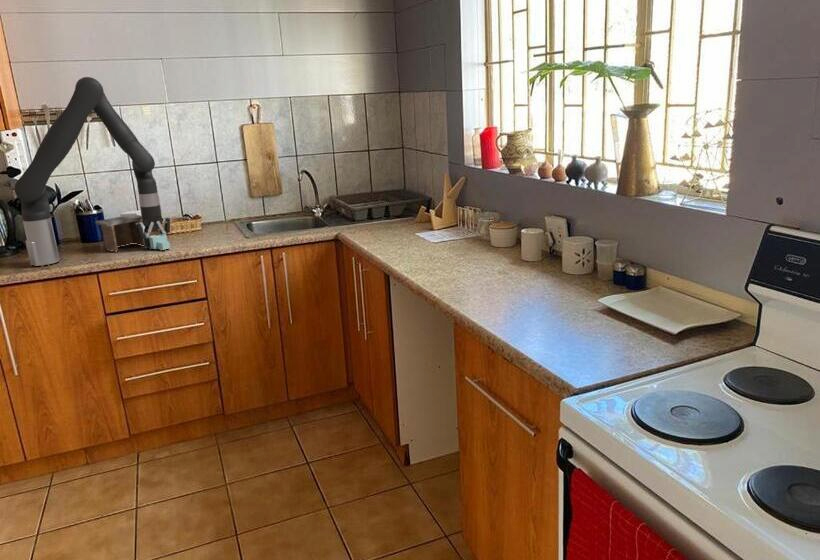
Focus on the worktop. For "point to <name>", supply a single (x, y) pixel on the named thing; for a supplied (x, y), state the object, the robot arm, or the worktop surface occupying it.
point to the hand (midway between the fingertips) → (156, 245)
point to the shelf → (120, 231)
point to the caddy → (158, 241)
